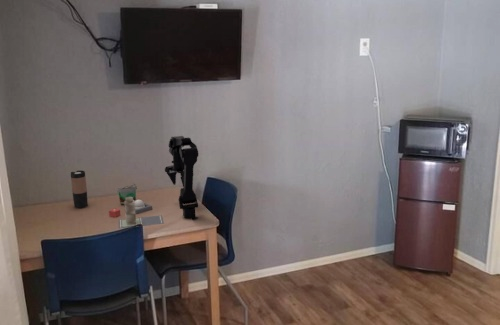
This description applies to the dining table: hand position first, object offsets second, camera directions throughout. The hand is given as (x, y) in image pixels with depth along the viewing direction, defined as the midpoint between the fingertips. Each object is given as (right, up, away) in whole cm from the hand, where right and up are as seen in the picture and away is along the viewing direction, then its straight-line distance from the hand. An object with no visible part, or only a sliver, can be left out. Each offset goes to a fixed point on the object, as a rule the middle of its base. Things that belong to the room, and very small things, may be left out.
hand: (179, 186), depth 261 cm
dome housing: (-22, -13, -3) cm, 26 cm away
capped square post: (-21, -17, -23) cm, 35 cm away
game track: (-16, -18, -21) cm, 32 cm away
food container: (-30, -10, +10) cm, 33 cm away
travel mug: (-56, -12, +5) cm, 58 cm away
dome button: (-22, -13, -3) cm, 26 cm away
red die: (-32, -16, -12) cm, 38 cm away
